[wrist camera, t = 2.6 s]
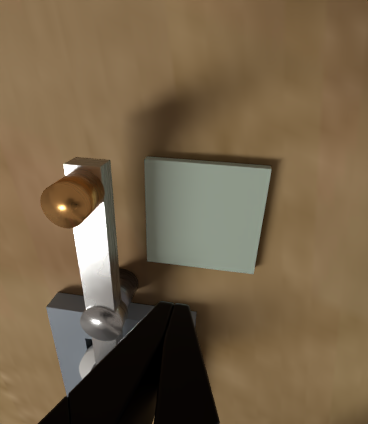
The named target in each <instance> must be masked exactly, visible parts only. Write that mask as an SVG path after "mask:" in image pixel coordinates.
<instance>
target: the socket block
mask: <svg viewBox="0 0 368 424" xmlns="http://www.w3.org/2000/svg"><path fill="white" fill-rule="evenodd" d="M154 307H155V306H151V305H144V304H137V303H130V305H129V307H128V317H127V319H126V321H125V324H124V326H123V328H122V330H123V338H124V337H125V336H126V335H127V334H128V333H129V332H130V331H131V330H132V329H133V328H134V327H135V326H136V325H137V324H138V323H139V322H140V321H141V320H142V319H143V318H144V317H145V316H146V315H147V314H148V313H149V312H150V311H151V310H152V309H153V308H154ZM46 308H47V313H48V317H49V321H50V325H51V330H52V334H53V338H54V342H55V347H56V351H57V355H58V360H59V364H60V368H61V372H62V377H63V381H64V385H65V389H66V394H67V396H68V394H69V392H70V391H71V390H72V389H73V388H74V387H75V386H76V385H77V384H78V383H79V382H80V381H81V380H82V378H81V375H80V372H79V365H80V362H81V360H82V358H83V356H84V354H85V352H86V350H87V349H88V348H89V347H90V346H91V345H93V343H92V337H91V336H89V335H88V334H87V333H86V332H85V331H84V330H83V329H82V327H81V324H80V317H81V315H82V314H83V312H84V310H85V309H86V307H85V300H84V296H80V295H73V294H66V293H59V292H58V293H57V294H56V295H55V297H54V298H53V299H52V300H51V302H50V303H49V304H48V305H47V307H46ZM196 313H197V312H194V311H191V314H192V318H193V322H194V326H195V327H196Z"/></svg>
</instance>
